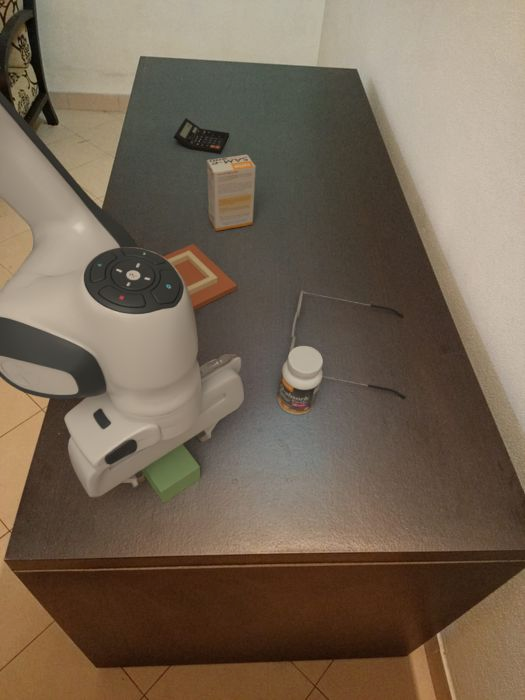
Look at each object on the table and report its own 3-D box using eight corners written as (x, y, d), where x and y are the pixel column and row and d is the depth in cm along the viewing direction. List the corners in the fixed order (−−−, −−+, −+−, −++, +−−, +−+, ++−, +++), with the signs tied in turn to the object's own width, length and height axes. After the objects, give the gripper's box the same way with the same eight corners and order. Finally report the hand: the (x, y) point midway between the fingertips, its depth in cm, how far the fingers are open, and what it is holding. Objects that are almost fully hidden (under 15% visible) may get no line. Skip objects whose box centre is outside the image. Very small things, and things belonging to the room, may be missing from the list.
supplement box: (245, 212, 99) (248, 153, 89) (253, 225, 97) (256, 166, 86) (207, 218, 97) (206, 158, 87) (214, 232, 94) (214, 171, 84)
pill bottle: (271, 409, 69) (278, 368, 61) (283, 379, 72) (290, 337, 64) (309, 421, 68) (320, 381, 60) (318, 390, 71) (330, 349, 64)
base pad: (169, 322, 78) (168, 312, 76) (128, 276, 84) (126, 265, 83) (237, 289, 84) (237, 279, 82) (193, 248, 91) (193, 238, 89)
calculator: (220, 154, 114) (220, 142, 112) (174, 146, 115) (173, 134, 112) (229, 136, 120) (229, 124, 118) (184, 129, 121) (184, 117, 118)
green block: (163, 503, 59) (160, 492, 56) (141, 470, 61) (137, 458, 58) (200, 478, 61) (200, 466, 58) (177, 447, 64) (175, 434, 61)
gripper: (223, 329, 53) (224, 397, 64) (46, 425, 44) (82, 485, 55) (258, 365, 50) (252, 430, 61) (76, 475, 41) (107, 528, 52)
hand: (170, 457), depth 58 cm, fingers open, 8 cm apart
